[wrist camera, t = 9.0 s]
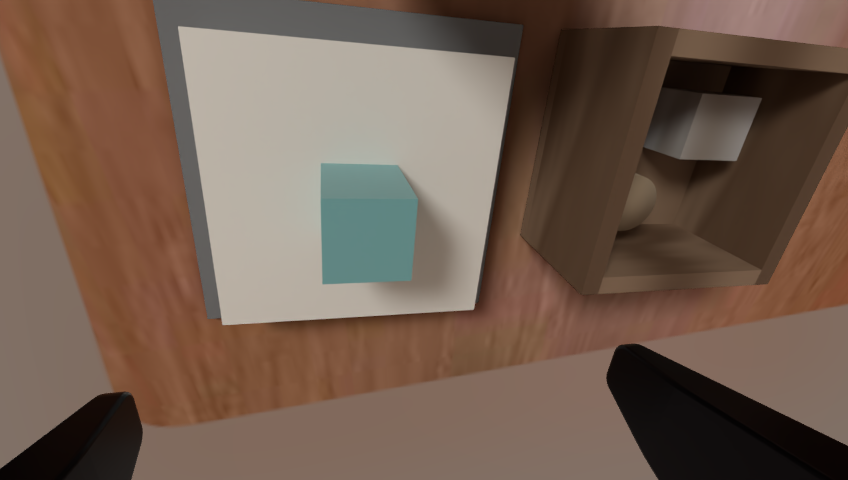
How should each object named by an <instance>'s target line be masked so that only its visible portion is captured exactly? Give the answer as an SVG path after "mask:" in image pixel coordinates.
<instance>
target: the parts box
mask: <svg viewBox="0 0 848 480" xmlns="http://www.w3.org/2000/svg"><path fill="white" fill-rule="evenodd" d="M847 127H848V48H839V47H831V46H823V45H814V44H806V43H797V42H789V41H781V40H772V39H764V38H755V37H747V36H738V35H730V34H722V33H713V32H705V31H696V30H688V29H680V28H671V27H663V26H646V27H619V28H593V29H567V30H561V32H560V37H559V42H558V47H557V52H556V57H555V62H554V68H553V73H552V78H551V83H550V88H549V93H548V98H547V103H546V108H545V113H544V118H543V123H542V128H541V133H540V138H539V143H538V148H537V153H536V158H535V163H534V168H533V173H532V178H531V183H530V188H529V193H528V199H527V204H526V209H525V214H524V219H523V224H522V229H521V234H520V235H521V236H522V237H523V238H524V239H525V240H526V241H527V242H528V243H529V244H530V245H531V246H532V247H533V248H534V249H535V250H536V251H537V252H538V253H539V254H540V255H541V256H542V257H543V258H544V259H545V260H546V261H547V262H548V263H549V264H550V265H551V266H552V267H553V268H554V269H555V270H556V271H557V272H558V273H559V274H560V275H561V276H562V277H563V278H564V279H565V280H566V281H567V282H568V283H569V284H571V285H572V286H573V287H574V288H575V289H576V290H577V291H578V292H579V293H580V294H581V295H591V294H608V293H625V292H642V291H659V290H676V289H692V288H709V287H726V286H743V285H760V284H768V282H769V280H770V278H771V276H772V274H773V273H774V271H775V269H776V267H777V265H778V263H779V261H780V259H781V257H782V255H783V253H784V251H785V249H786V247H787V245H788V243H789V241H790V239H791V237H792V235H793V233H794V231H795V229H796V227H797V225H798V223H799V221H800V219H801V217H802V215H803V213H804V211H805V209H806V207H807V206H808V204H809V202H810V200H811V198H812V196H813V194H814V192H815V190H816V188H817V186H818V184H819V182H820V180H821V178H822V176H823V174H824V172H825V170H826V168H827V166H828V164H829V162H830V160H831V158H832V156H833V154H834V152H835V150H836V148H837V146H838V144H839V142H840V140H841V139H842V137H843V135H844V133H845V131H846V129H847Z"/></svg>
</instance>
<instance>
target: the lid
mask: <svg viewBox="0 0 848 480" xmlns="http://www.w3.org/2000/svg"><path fill="white" fill-rule="evenodd" d="M178 31H179V38H180V45H181V51H182V58H183V65H184V71H185V78H186V85H187V91H188V98H189V105H190V111H191V118H192V125H193V131H194V138H195V145H196V151H197V158H198V165H199V171H200V178H201V185H202V191H203V198H204V204H205V211H206V218H207V224H208V231H209V238H210V244H211V251H212V258H213V264H214V271H215V278H216V284H217V291H218V298H219V304H220V311H221V318H222V324H223V325H233V324H249V323H266V322H282V321H298V320H315V319H331V318H347V317H364V316H380V315H396V314H413V313H429V312H446V311H462V310H474V306H475V300H476V294H477V288H478V282H479V276H480V270H481V263H482V257H483V251H484V245H485V239H486V233H487V227H488V221H489V215H490V208H491V202H492V196H493V190H494V184H495V178H496V172H497V166H498V160H499V153H500V147H501V141H502V135H503V129H504V123H505V117H506V111H507V105H508V98H509V92H510V86H511V80H512V74H513V68H514V62H515V58H513V57H503V56H493V55H482V54H471V53H461V52H450V51H439V50H429V49H418V48H407V47H396V46H386V45H375V44H364V43H354V42H343V41H332V40H321V39H311V38H300V37H289V36H279V35H268V34H257V33H247V32H236V31H225V30H214V29H204V28H193V27H181V26H178Z"/></svg>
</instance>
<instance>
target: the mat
mask: <svg viewBox="0 0 848 480" xmlns="http://www.w3.org/2000/svg"><path fill="white" fill-rule="evenodd" d="M153 4H154V10H155V16H156V21H157V27H158V33H159V39H160V45H161V50H162V56H163V62H164V68H165V74H166V79H167V85H168V91H169V97H170V103H171V108H172V114H173V120H174V126H175V132H176V137H177V143H178V149H179V155H180V161H181V166H182V172H183V178H184V184H185V190H186V195H187V201H188V207H189V213H190V219H191V224H192V230H193V236H194V242H195V248H196V253H197V259H198V265H199V271H200V277H201V282H202V288H203V294H204V300H205V306H206V311H207V317H208V319H214V318H221V311H220V304H219V298H218V291H217V284H216V278H215V271H214V264H213V258H212V251H211V244H210V238H209V231H208V224H207V218H206V211H205V204H204V198H203V191H202V185H201V178H200V171H199V165H198V158H197V151H196V145H195V138H194V131H193V125H192V118H191V111H190V105H189V98H188V91H187V85H186V78H185V71H184V65H183V58H182V51H181V45H180V38H179V31H178V26H181V27H193V28H204V29H214V30H225V31H236V32H247V33H257V34H268V35H279V36H289V37H300V38H311V39H321V40H332V41H343V42H354V43H364V44H375V45H386V46H396V47H407V48H418V49H429V50H439V51H450V52H461V53H471V54H482V55H493V56H503V57H513V58H515V62H514V68H513V74H512V80H511V86H510V92H509V98H508V105H507V111H506V117H505V123H504V129H503V135H502V141H501V147H500V153H499V160H498V166H497V172H496V178H495V184H494V190H493V196H492V202H491V208H490V215H489V221H488V227H487V233H486V239H485V245H484V251H483V257H482V263H481V270H480V276H479V282H478V288H477V294H476V300H475V303H478V301H479V294H480V288H481V282H482V276H483V270H484V264H485V258H486V252H487V245H488V239H489V233H490V227H491V221H492V215H493V209H494V203H495V196H496V190H497V184H498V178H499V172H500V166H501V160H502V154H503V147H504V141H505V135H506V129H507V123H508V117H509V111H510V105H511V98H512V92H513V86H514V80H515V74H516V68H517V62H518V56H519V49H520V43H521V37H522V31H523V25H520V24H510V23H501V22H492V21H483V20H474V19H465V18H456V17H447V16H437V15H428V14H419V13H410V12H401V11H392V10H383V9H374V8H364V7H355V6H346V5H337V4H328V3H319V2H310V1H301V0H153Z"/></svg>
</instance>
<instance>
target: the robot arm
mask: <svg viewBox="0 0 848 480" xmlns="http://www.w3.org/2000/svg"><path fill="white" fill-rule="evenodd" d="M606 379H607V384H608V387H609V389H610V391H611V393H612V395H613V397H614V399H615V401H616V402H617V405H618V407H619V409H620V411H621V412H622V415H623V417H624V418H625V420H626V422H627V424H628V426H629V428H630V430H631V432H632V434H633V436H634V438H635V440H636V442H637V444H638V446H639V448H640V450H641V452H642V453H643V455H644V457H645V459H646V460H647V462H648V464H649V465H650V467H651V469H652V470H653V472H654V474H655V475H656V477H657V478H658V480H848V446H847V445H845V444H843V443H841V442H839V441H837V440H835V439H832V438H830V437H829V436H827V435H824V434H822V433H820V432H818V431H816V430H814V429H812V428H810V427H808V426H806V425H804V424H802V423H800V422H798V421H795V420H794V419H791V418H790V417H788V416H785V415H783V414H781V413H779V412H777V411H775V410H773V409H771V408H769V407H767V406H765V405H763V404H761V403H759V402H757V401H755V400H753V399H750V398H748V397H746V396H744V395H742V394H740V393H738V392H736V391H734V390H732V389H730V388H728V387H726V386H724V385H722V384H720V383H717V382H715V381H713V380H711V379H709V378H707V377H705V376H703V375H701V374H699V373H697V372H695V371H693V370H691V369H689V368H687V367H685V366H683V365H681V364H679V363H677V362H674V361H672V360H670V359H668V358H666V357H664V356H662V355H660V354H658V353H656V352H654V351H652V350H650V349H648V348H646V347H644V346H642V345H639V344H625V345H620V346H618V347H617V348H616V350H615V352H614V355H613V358H612V360H611V363H610V366H609V369H608V372H607V377H606ZM142 434H143V431H142V425H141V421H140V418H139V414H138V411H137V408H136V404H135V401H134V398H133V396H132V395H131V393H129V392H116V393H106V394H101V395H98V396H97V397H95V398H94V399H92V400H91V401H90V402H88V403H87V404H85V405H84V406H83V407H81V408H80V409H79V410H78V411H76V412H75V413H74V414H72V415H71V416H70V417H68V418H67V419H66V420H64V421H63V422H62V423H60V424H59V425H58V426H56V427H55V428H54V429H52V430H51V431H50V432H49V433H47V434H46V435H44V436H43V437H42V438H41V439H39V440H38V441H36V442H35V443H34V444H32V445H31V446H30V447H29V448H27V449H26V450H25V451H23V452H22V453H21V454H19V455H18V456H17V457H15V458H14V459H13V460H11V461H10V462H9V463H7V464H6V465H5V466H3V467H2V468H1V469H0V480H131V479H132V475H133V471H134V468H135V464H136V461H137V457H138V453H139V450H140V446H141V442H142Z"/></svg>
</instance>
